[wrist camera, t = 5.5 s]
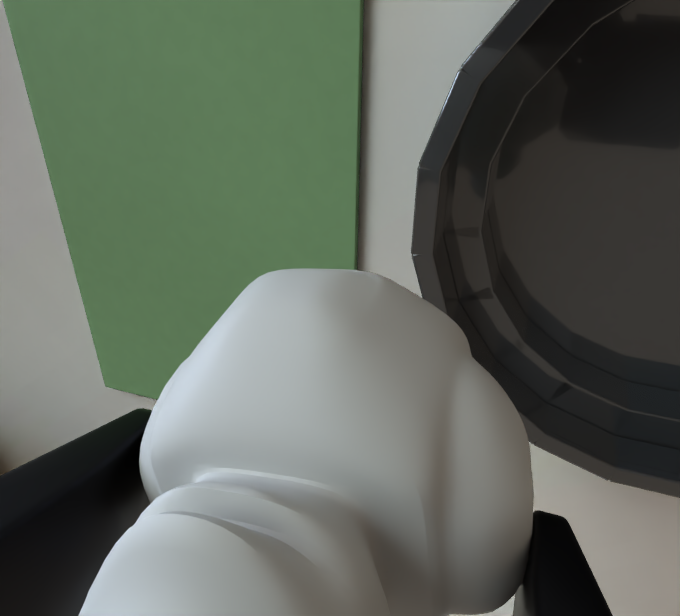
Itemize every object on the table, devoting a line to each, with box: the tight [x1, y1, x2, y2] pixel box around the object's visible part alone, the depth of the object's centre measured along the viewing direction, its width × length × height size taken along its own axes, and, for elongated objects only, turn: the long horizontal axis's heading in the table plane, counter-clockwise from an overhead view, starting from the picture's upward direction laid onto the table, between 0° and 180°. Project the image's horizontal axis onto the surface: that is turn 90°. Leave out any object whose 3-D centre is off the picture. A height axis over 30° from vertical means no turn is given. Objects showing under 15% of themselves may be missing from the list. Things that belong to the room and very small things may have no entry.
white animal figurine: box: [78, 268, 534, 616], centre depth 7 cm, size 5×7×8 cm
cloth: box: [3, 0, 364, 400], centre depth 21 cm, size 20×12×1 cm, turn 0°
